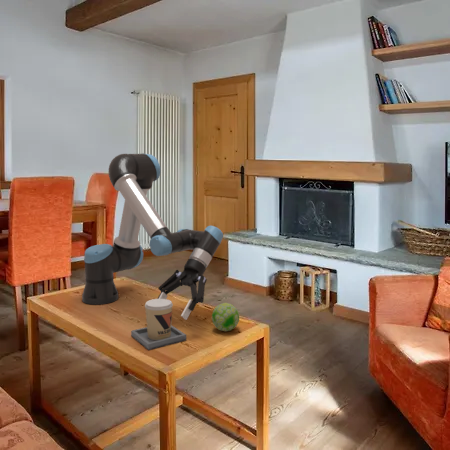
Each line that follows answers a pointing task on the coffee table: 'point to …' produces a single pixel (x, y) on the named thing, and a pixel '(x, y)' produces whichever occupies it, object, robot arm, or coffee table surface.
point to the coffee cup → (158, 318)
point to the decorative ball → (225, 317)
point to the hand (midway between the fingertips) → (169, 313)
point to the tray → (149, 344)
